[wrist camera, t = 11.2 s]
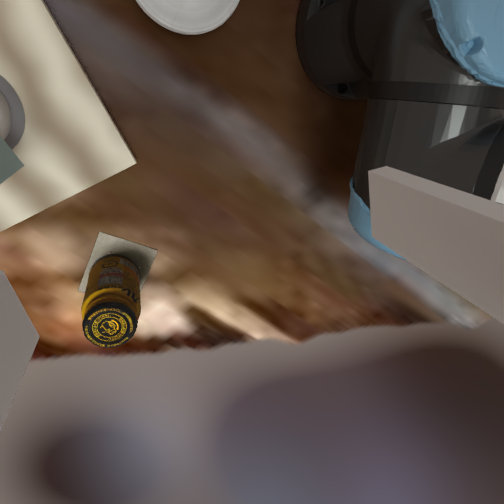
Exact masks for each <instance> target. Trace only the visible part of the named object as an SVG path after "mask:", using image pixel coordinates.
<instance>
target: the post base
mask: <svg viewBox="0 0 504 504" xmlns="http://www.w3.org/2000/svg"><path fill="white" fill-rule="evenodd" d="M0 91H1V92H2V94H3V95H4V97H5V98H6V100H7V102H8V104H9V106H10V109H11V113H12V125H11V129H10V132H9V134H8V136H7V137H6V138H5V140H4V141H5V142H6V143H7V145H8V146H9V147H10V148H11V150H12V151H13V152H14V153H15V154H16V156H17V157H18V158H19V159H20V161H21V162H22V163H23V164H24V166H23V167H22V168H21V169H19V170H18V171H17V172H15V173H14V174H13V175H12V176H10V177H9V178H8V179H6V180H5V181H4V182H3V183H1V184H0V232H1V231H3V230H5V229H7V228H9V227H11V226H13V225H15V224H17V223H19V222H21V221H23V220H25V219H27V218H29V217H31V216H33V215H35V214H37V213H39V212H41V211H43V210H45V209H47V208H49V207H51V206H53V205H55V204H57V203H59V202H61V201H63V200H65V199H67V198H69V197H71V196H73V195H75V194H77V193H79V192H81V191H83V190H85V189H87V188H89V187H91V186H93V185H95V184H97V183H98V182H100V181H102V180H104V179H106V178H108V177H110V176H112V175H114V174H116V173H118V172H120V171H122V170H124V169H126V168H128V167H130V166H132V165H134V164H136V159H135V157H134V155H133V154H132V152H131V150H130V149H129V147H128V145H127V143H126V142H125V140H124V138H123V137H122V135H121V133H120V131H119V130H118V128H117V126H116V125H115V123H114V121H113V119H112V118H111V116H110V114H109V113H108V111H107V109H106V107H105V106H104V104H103V102H102V100H101V99H100V97H99V95H98V94H97V92H96V90H95V88H94V87H93V85H92V83H91V82H90V80H89V78H88V76H87V75H86V73H85V71H84V70H83V68H82V66H81V64H80V63H79V61H78V59H77V58H76V56H75V54H74V52H73V51H72V49H71V47H70V45H69V44H68V42H67V40H66V39H65V37H64V35H63V33H62V32H61V30H60V28H59V27H58V25H57V23H56V21H55V20H54V18H53V16H52V15H51V13H50V11H49V9H48V8H47V6H46V4H45V3H44V1H43V0H0Z"/></svg>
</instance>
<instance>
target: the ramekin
mask: <svg viewBox="0 0 504 504" xmlns="http://www.w3.org/2000/svg"><path fill="white" fill-rule="evenodd" d="M239 1H240V0H136V2H137V3H138V5H139V6H140V7H141V8H142V10H143V11H144V12H145V13H146V14H147V15H148V16H149V17H150V18H151V19H153V20H154V21H155V22H156V23H158V24H159V25H161V26H162V27H164V28H166V29H168V30H171V31H173V32H177V33H180V34H187V35H197V34H203V33H206V32H209V31H212V30H214V29H216V28H217V27H219V26H221V25H222V24H223V23H224V22H225V21H226V20H227V19H228V18H229V17H230V16H231V15H232V13H233V12H234V10H235V9H236V7H237V5H238V3H239Z"/></svg>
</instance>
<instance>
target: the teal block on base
mask: <svg viewBox="0 0 504 504" xmlns="http://www.w3.org/2000/svg"><path fill="white" fill-rule="evenodd" d="M11 125H12V113H11V109H10V106H9V104H8V102H7V100H6V98H5V97H4V95H3V94H2V92H1V91H0V184H1V183H3V182H4V181H5V180H6V179H8V178H9V177H10V176H12V175H13V174H14V173H15V172H17V171H18V170H19V169H21V168H22V167H23V166H24V164H23V163H22V162H21V161H20V159H19V158H18V157H17V156H16V154H15V153H14V152H13V151H12V150H11V148H10V147H9V146H8V145H7V143H6V142H5V141H4V140H5V138H6V137H7V136H8V134H9V132H10V129H11Z"/></svg>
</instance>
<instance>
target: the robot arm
mask: <svg viewBox="0 0 504 504" xmlns="http://www.w3.org/2000/svg"><path fill="white" fill-rule="evenodd" d="M296 41H297V49H298V53H299V57H300V60H301V63H302V65H303V68H304V70H305V72H306V73H307V75H308V77H309V78H310V79H311V81H312V82H313V83H314V84H315V85H316V86H317V87H318V88H319V89H320V90H322V91H323V92H324V93H326V94H328V95H330V96H332V97H335V98H339V99H347V100H362V99H367V98H368V99H367V104H366V110H365V115H364V120H363V125H362V130H361V136H360V141H359V146H358V151H357V156H356V162H355V167H354V172H353V176H352V178H351V179H350V189H351V193H350V200H349V208H348V217H349V221H350V223H351V225H352V226H353V227H354V230H355V231H356V232H357V233H358V234H359V235H360V236H361V237H362V238H363V239H364V240H366V241H367V242H368V243H370V244H372V245H373V246H375V247H377V248H378V249H380V250H382V251H384V252H387V253H389V254H391V255H394V256H396V257H399V258H401V259H404V260H408V261H409V262H411V263H412V264H414V265H415V266H417V267H418V268H420V269H421V270H423V271H424V272H426V273H427V274H429V275H430V276H432V277H433V278H435V279H436V280H438V281H439V282H441V283H442V284H444V285H445V286H447V287H448V288H450V289H452V290H453V291H455V292H456V293H458V294H459V295H461V296H462V297H464V298H465V299H467V300H468V301H470V302H471V303H473V304H474V305H476V306H477V307H479V308H480V309H482V310H483V311H485V312H486V313H488V314H489V315H491V316H492V317H494V318H495V319H497V320H498V321H500V322H501V323H503V324H504V0H302V1H301V4H300V7H299V11H298V16H297V24H296ZM39 337H40V336H39V335H38V333H37V331H36V329H35V327H34V326H33V324H32V322H31V320H30V318H29V317H28V315H27V313H26V311H25V309H24V308H23V306H22V304H21V302H20V300H19V299H18V297H17V295H16V293H15V291H14V290H13V288H12V286H11V284H10V282H9V281H8V279H7V277H6V275H5V273H4V271H3V270H2V271H0V431H1V428H2V426H3V423H4V421H5V419H6V416H7V414H8V412H9V409H10V407H11V404H12V402H13V400H14V397H15V395H16V392H17V390H18V387H19V385H20V382H21V380H22V378H23V375H24V373H25V371H26V368H27V366H28V363H29V361H30V359H31V356H32V354H33V351H34V349H35V347H36V344H37V342H38V339H39Z"/></svg>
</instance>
